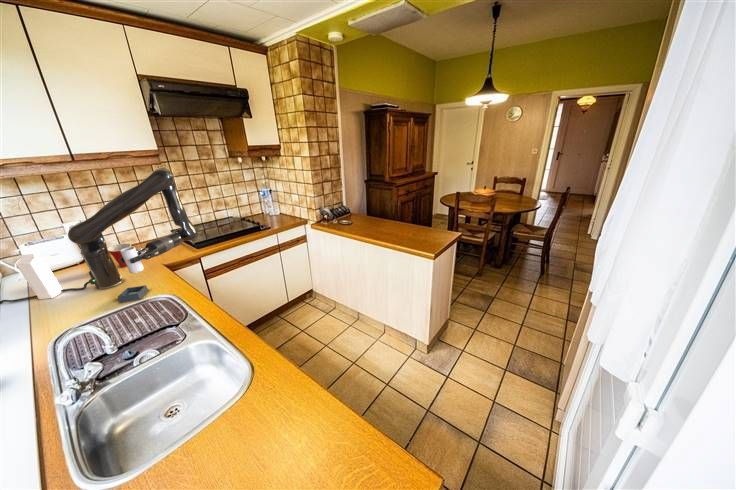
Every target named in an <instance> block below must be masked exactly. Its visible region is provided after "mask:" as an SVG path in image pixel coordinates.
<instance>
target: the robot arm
mask: <svg viewBox="0 0 736 490" xmlns="http://www.w3.org/2000/svg"><path fill="white" fill-rule="evenodd" d="M159 193H162V195H163V197H164V200H165V203H166V207H167V210H168V213H169V215H170V217H171V220H172V222H173V223H174V225H175V226H177V227H180V228H178V229H176V230H174V231H173V232H171V233H170V234H167V235H165V236H162V237H159V238H156V239H153V240H151V241H149V242H147V243H146V244H145V246H144V247H142V248H141V247H140V249H138V248H136V251H137V253H138V255H139V256H136V257H134V258H131V259H130V262H131V263H136V262H138V261H140V260H141V261H144V260H145V261H147V260H150V259H153V258H156V257H158V256H160V255H163V254H165V253H167V252H169V251H170V250H172V249H174V248H177V247H179V246H180V245H182V243H183V242H184V241H196V240H197V239H198V236H199V233H198V230H197V228H196V227H195V225H194V224H193V222H192V221H191V220H190V219H189V216H188V214H187V212H186V209H185V207H184V205H183V202H182V201H181V199H180V196H179V194H178V191H177V187H176V183H175V176H174V174H173V173H172V172H171V171H170V169H167V168H165V167H158V168H155V169H154V170H153V171H151V173H150V174H149V175H148V176H147V177H146V178H145V179H143V180H142V181H141V182H140V183H139V184H137V185H136V186H133V187H131V188H128V189H127V190H124V191H123V192H121V193H119V194H118V195H117V196H115V197H113V198H111V200H109V201H108V202H107V203H105V204H104V205H103V206H102V207H100V209H99V210H98V211H97V212H96V213H94V214H93V215H92V216H90V217H89V218H87V219H85V220H84V221H80V222H77V223H76V224H74V225H72V226H71V227H70V228H69V229H68V232H67V237H68V239H69V241H71V242H72V243H73V244H77V245H79V246H80V255H81V256H82V258H83V261H84V262H85V264H86V266H87V268H88V270H89V271H88V275H89V276H90V279H88V281H87V282H85V283H84V284H83V287H78V288H77V287H72V288H71V287H70V288H64V289H63V288H62V289H63V290H61V292H62V293H65V292H68V291H69V292H70V291H82V290H86V289H87V286H88V285H89V284H90V285H91V286H92V285H94V286H95V287H96V289H98V290H99V289H100V290H106V289H110V288H113V287H116V286H119V285H120V284H122V283H123V282H124V279H123V276H122V274H120V272H119V269H118V268H117V266H116V264H115V261H114V258H113V256H112V255H111V253H110V252H109V251H108V249H107V248H108V245H107V242H106V239H105V237H104V234H103V232H105V231H106V230H108V229H109V228H110V227H112V226H113V225H116V224H117V223H118V222H121V221H122V220H124V219H125V218H127V217H129V216H130V215H133V213H135V212H136V211H137V210H139V209H141V207H142V206H144V205H145V204H146V203H147V202H148V201H149V200H150V199H152V198H153V197H154V196H155V195H157V194H159ZM120 261H121V263H124V262H125V261H124V259H123V257H122V258H120ZM36 298H38V297H37V295H36V294H35V295H31V296H27V297H22V298H16V299H2V300H0V305H2V304H3V303H17V302H22V301H26V300H30V299H36Z"/></svg>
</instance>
